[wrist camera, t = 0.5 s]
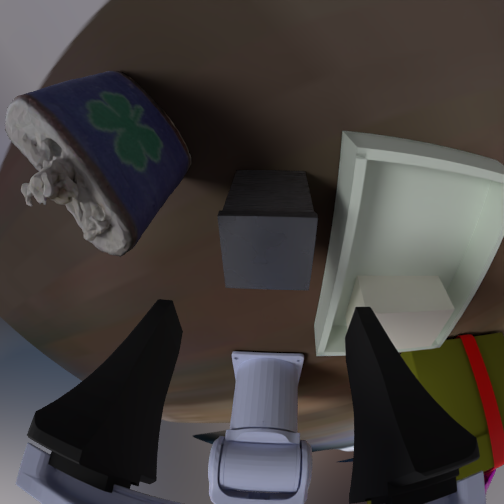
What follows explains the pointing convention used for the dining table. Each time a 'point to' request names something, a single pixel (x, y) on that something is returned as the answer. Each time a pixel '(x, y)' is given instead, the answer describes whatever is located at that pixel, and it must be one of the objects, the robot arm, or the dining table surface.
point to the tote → (408, 224)
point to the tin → (268, 231)
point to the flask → (99, 154)
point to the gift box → (468, 392)
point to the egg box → (404, 307)
